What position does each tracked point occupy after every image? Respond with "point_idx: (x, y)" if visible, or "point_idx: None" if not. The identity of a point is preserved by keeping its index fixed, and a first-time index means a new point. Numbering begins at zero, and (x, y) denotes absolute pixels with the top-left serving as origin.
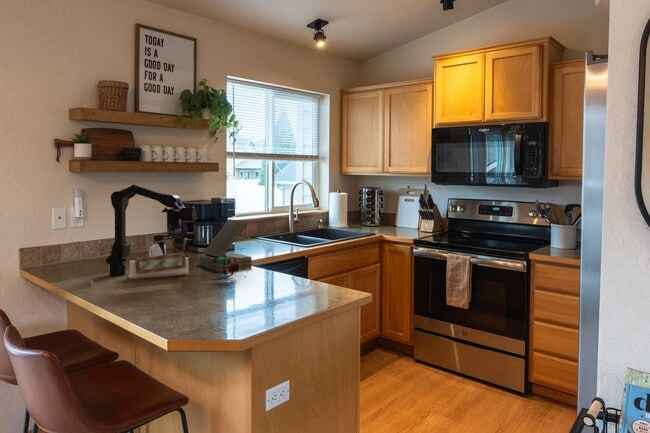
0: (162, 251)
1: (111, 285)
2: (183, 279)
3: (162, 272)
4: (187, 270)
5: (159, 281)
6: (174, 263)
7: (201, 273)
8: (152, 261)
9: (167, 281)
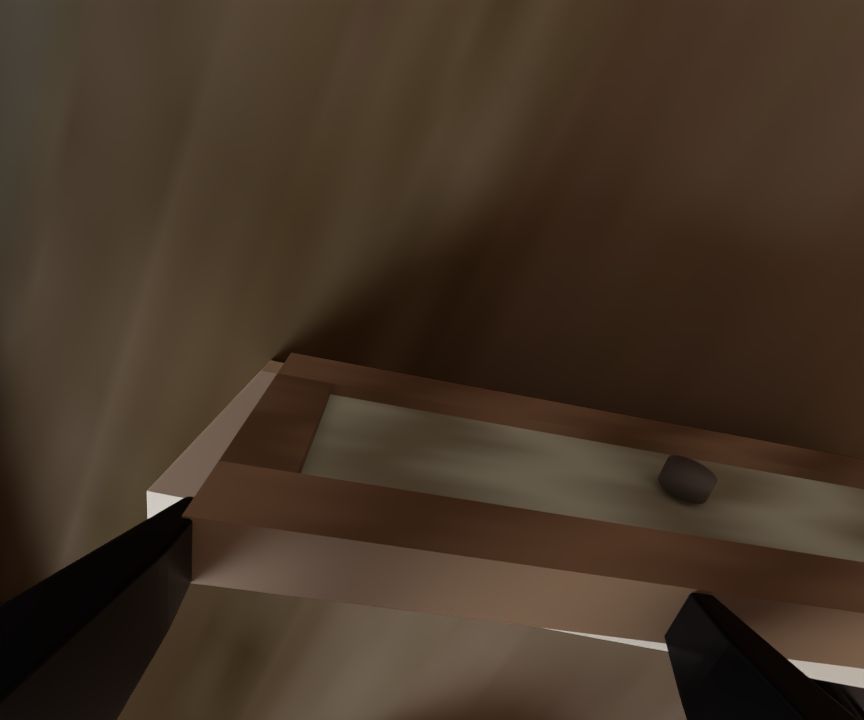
0: (822, 712)
1: None
2: (484, 39)
3: None
4: (264, 383)
5: (801, 129)
6: (457, 436)
7: (112, 320)
8: (847, 555)
9: (736, 43)
